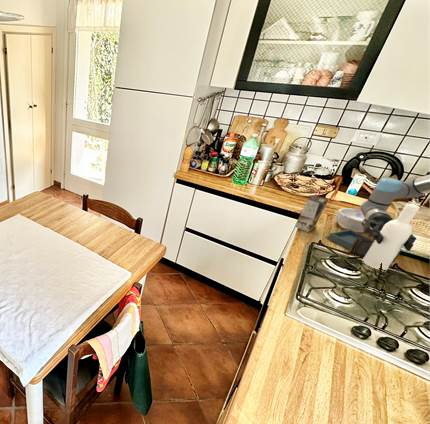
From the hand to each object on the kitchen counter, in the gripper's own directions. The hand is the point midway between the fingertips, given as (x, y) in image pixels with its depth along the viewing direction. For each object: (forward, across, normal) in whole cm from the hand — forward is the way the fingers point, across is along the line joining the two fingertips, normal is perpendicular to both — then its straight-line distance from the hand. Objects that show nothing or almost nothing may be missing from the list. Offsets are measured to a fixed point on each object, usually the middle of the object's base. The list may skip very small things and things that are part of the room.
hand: (395, 244), depth 118 cm
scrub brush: (-12, 0, -15) cm, 19 cm away
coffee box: (-30, +22, -15) cm, 40 cm away
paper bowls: (-43, +1, -15) cm, 46 cm away
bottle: (-5, 0, -15) cm, 16 cm away
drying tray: (-24, +3, -15) cm, 29 cm away
